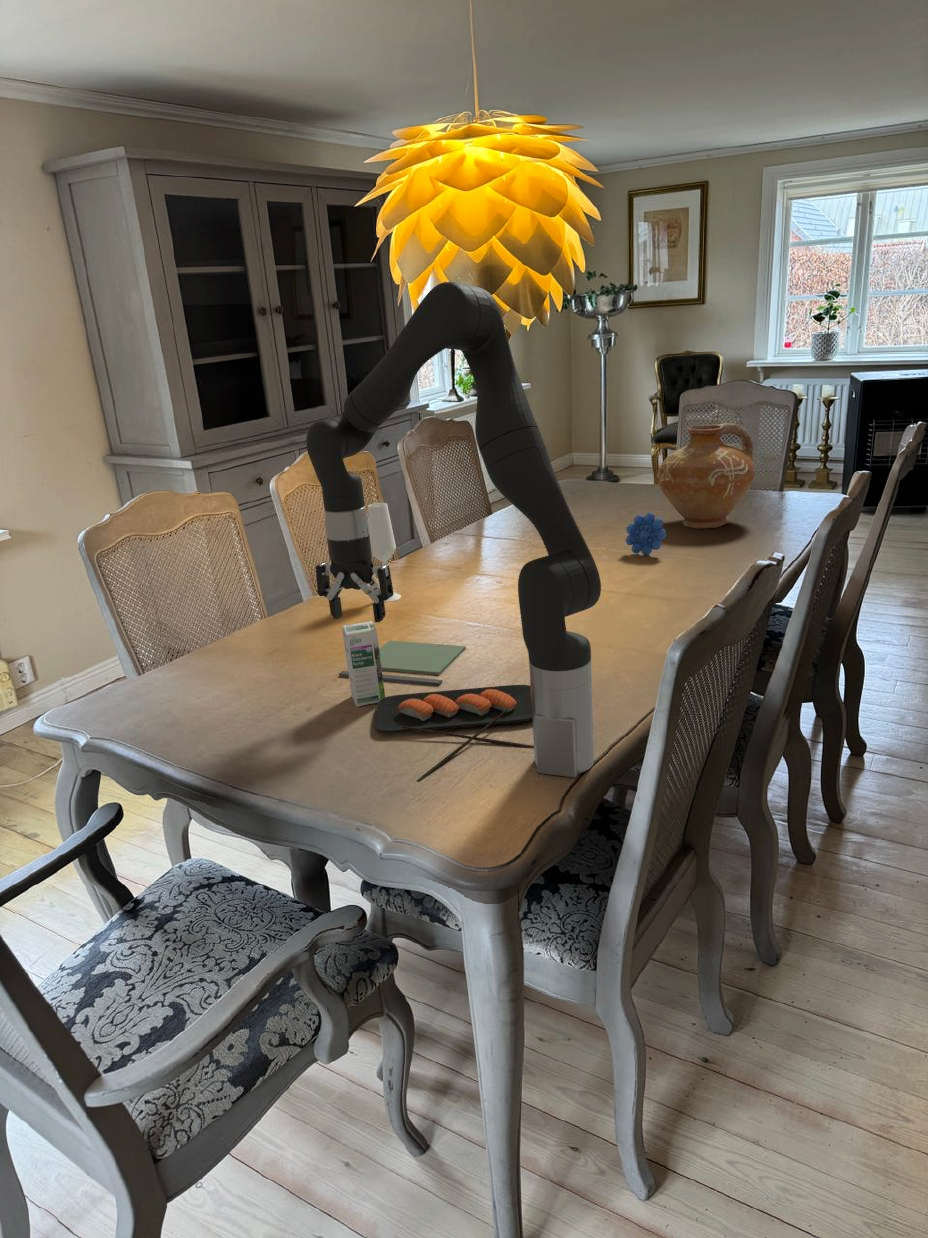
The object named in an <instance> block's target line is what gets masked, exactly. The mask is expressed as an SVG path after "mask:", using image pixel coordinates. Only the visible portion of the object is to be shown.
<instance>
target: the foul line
mask: <svg viewBox="0 0 928 1238" xmlns="http://www.w3.org/2000/svg"><path fill="white" fill-rule="evenodd" d="M338 676H339V677H342V678H349V674H348V670H341V671H340V672H339V673H338ZM382 676H383V682H395V683H405V684H417V685H426V686H438V687H439V686H441V685H442V684H443V680H442V679H438V678H437V679H435V678H425V677H424V678H423V677H415V676H414V677H413V676H404V675H393V674H392V675H391V674H383V673H382Z"/></svg>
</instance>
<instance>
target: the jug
mask: <svg viewBox="0 0 928 1238" xmlns="http://www.w3.org/2000/svg"><path fill="white" fill-rule="evenodd" d="M686 429H687V433H688V434H689V438H690V440H689V443H688V444H687V445H686V446H682V447H680V448H679V449H677V450H675V451H673V452H672V453H671V454H669V455H668V456H666V458H665V459H664V460H663V461H662V462H661V464H660V465H659V467H658V469H657V475H656V477H657V478H656V479H657V482H658V484H659V487H660V489H661V491H662V493H663V494H664V497H666V499H667V500H668V501H669V502H670V504H671V505H672V507H674V509H675V511H676V512H677V513H679V514H680V516H681V517H682V518H683V521H682V524H683V526H684V527H687V528H691V529H699V530H700V529H716V528H719V527H720V528H721V527H722V526H723V525H726V524H727V523H728V519H727V516H729V514H730V513H731V512H732V511H733V509H734V508H735V507H736V506H737V505H738V504H739V502H740V501H741V500H742V498H743V497H744V496H745V494H746V493H747V491H748V490H749V489H750V486H751V484H752V482H753V481H754V480H753V479H754V477H755V464H754V456H753V454H754V441H753V439H752V436H751V435H752V434H750V433H749V431H748V430H747V429H746V428H745V427H743V426H740V425H739V424H737V423H731V422H730V423H727V422H724V423H719V424H715V423H714V424H702V425H695V426H689V427H687V428H686ZM726 434H727V435H728V434H733V435H734V436H737V437H738V439H740V441H741V442H742V447H740V448H738V447H736V446H734V445H730V444H728V443H724V442H723V440H721V438H722V436H723V435H726Z"/></svg>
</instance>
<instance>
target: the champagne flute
mask: <svg viewBox="0 0 928 1238" xmlns="http://www.w3.org/2000/svg"><path fill="white" fill-rule="evenodd" d="M367 513H368V514H367V517H368V525H369V533H370V542H371V551H372V557H374V558H376V559H377V560H378V561H380V562H381V566H383V565H385V564H387V563H388V562H387V561H388V560H390V558H392V556H393V554H394V553H395V551H396V550H397V549H396V548H397V545H396V541H395V536H394V531H393V526H392V521H391V515H390V511H389V507H388V502H387V503H385V502H375V503H371V504H368V505H367ZM387 565H388V564H387ZM393 592H394V591H393ZM401 598H402V595H401V594H399V593H398V592H394V595H393V596H392V597H390V598H389V599H388V600H386V601H384V603H386V602H387V603H388V602H394V601H397V600H399V599H401Z"/></svg>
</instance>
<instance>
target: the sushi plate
mask: <svg viewBox="0 0 928 1238" xmlns="http://www.w3.org/2000/svg"><path fill="white" fill-rule="evenodd" d="M376 704H377V705H376V707H375V708H376V709H375V714H374V721H373V722H374V724H373V725H374V729H375V730H376V731H377V732H378V733H383V734H385V733H386V734H388V733H390V734H393V733H395V734H396V733H409V732H425V733H432V734H436V735H443V736H449V737H450V736H451V737H455V738H460V739H467V740H466V741H465V742H463V743H462V744H461V745H459V746H458V747H456V749H454V750H453V751H452V752H451V753H449V754H448V755H447V756H445V757H444V758H443V759H442V760H440V761H439V762H438V763H437V764H435V765H434V766H433V767H431V768H430V769H429V770H427V772H425V773H424V774H423V775H421V776H420V777H419V778H418V779H417V780H416V782H418V783H420V782H421V781H423V780H424V779H426V778H427V777H428V776H430V775H431V774H433V773H434V772H436V771H437V770H439V769H441V768H442V767H443V766H444V765H445V764H447V762H449V761H450V760H451V759H452V758H453V757H455V756H456V754H458V753H459V752H460V751H461V750H462V749H464V748H465V747H466V746H467V745H468V744H470V742H472V741H478V742H484V743H489V744H495V745H499V746H506V747H507V746H508V747H516V748H519V747H520V748H526V749H527V748H528V749H529V748H530V749H534V744H533V745H532V744H531V745H530V744H524V743H519V742H510V741H505V740H498V739H492V738H485V737H478V736H479V735H481V733H483V732H484V731H485V730H487V729H488V728H489V727H490V726H491V725H502V724H511V723H521V722H528V721H532V705H531V687H530V684H510V685H496V686H495V685H494V686H485V687H475V688H473V687H472V688H465V689H464V688H461V689H460V688H459V689H451V690H438V691H437V690H436V691H426V692H425V691H424V692H415V693H403V694H396V695H390V696H385V698H382V699H381V700H380V701H379V702H378V703H376ZM478 726H483V727H482V728H481V729H480V730H478V732H476V733H475V734H474V735H472V736H471V735H462V734H459V733H458V734H457V733H450V732H444V731H438V730H443V729H456V728H466V727H478Z"/></svg>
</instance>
